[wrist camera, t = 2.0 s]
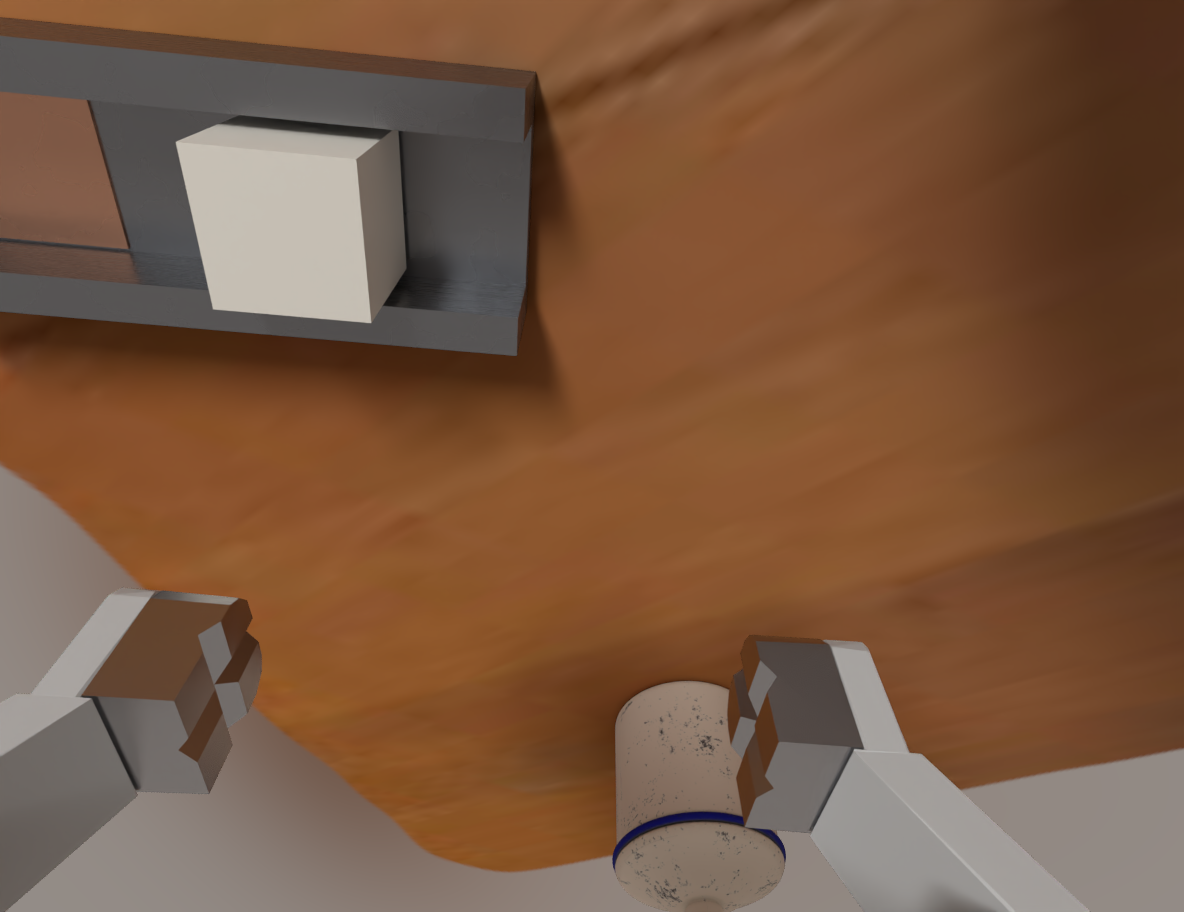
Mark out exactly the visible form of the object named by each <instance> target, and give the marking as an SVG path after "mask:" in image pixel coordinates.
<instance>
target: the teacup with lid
mask: <svg viewBox="0 0 1184 912" xmlns="http://www.w3.org/2000/svg"><path fill="white" fill-rule="evenodd" d="M728 696H729V690H728V689H726V688H724V687H721V686H718V685H715V684H711V683H706V682H699V681H677V682H670V683H664V684H660V685H657V686H654V687H651V688H649V689H646V690H644V691H642V692H640V693H639V694H637V695H636V696H634V697H633V698H631V699H630V700H629V701H628V702H627V703H626V704H625V705H624V706H623V708H622V709H621V711H620V713H619V714H618V717H617V720H616V724H615V755H616V823H617V846H616V847H615V850H614V853H613V868H614V870H615V873H616V876H617V879H618V881H619V882H620V884H621V886H622V887H623V888H624V890H625V891H626V892H627V893H628V894H629V895H631V896H632V897H633V898H635V899H636V900H638V901H640V902H642V903H644V904H646V905H648V906H651V907H654V908H657V909H661V910H665V911H669V912H731V911H733V910H735V909H737V908H740V907H743V906H746V905H749V904H751V903H754V902H756V901H758V900H759V899H761V898H763V897H764V896H766V895H767V894H768V893H770V892H771V891H772V890H773V889H774V888H775V887H776V886H777V884H778V883H779V881H780V879H781V877H782V875H783V872H784V867H785V860H786V854H785V848H784V845H783V843H782V841H781V840H780V838H779V837H778V836H777V831H776V830H769V829H758V828H747V827H744V821H743V815H742V809H741V804H740V798H739V792H738V786H737V781H736V776H737V773H738V770H739V768H740V765H741V762H742V758H741V757H740V756H739V755H738V754H737V753H736V751H735V750H734V749H733V748H732V747H731V744H730V737H729V731H728V717H727V708H728Z"/></svg>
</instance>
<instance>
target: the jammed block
mask: <svg viewBox="0 0 1184 912" xmlns="http://www.w3.org/2000/svg"><path fill="white" fill-rule="evenodd" d="M176 146H177V150H178V155H179V159H180V164H181V168H182V173H183V177H184V182H185V186H186V190H187V195H188V199H189V204H190V208H191V213H192V217H193V222H194V226H195V231H196V235H197V240H198V244H199V249H200V253H201V257H202V262H203V266H204V271H205V275H206V280H207V284H208V289H209V293H210V298H211V302H212V307H213V309H215V310H226V311H238V312H249V313H261V314H272V315H283V316H295V317H306V318H318V319H329V320H341V321H352V322H364V323H372V321H373V320H374V318H375V317H376V315H377V314H378V312H379V310H380V309H381V307H382V306H383V304H384V303H385V301H386V300H387V298H388V296H389V295H390V293H391V292H392V290H393V289H394V287H395V286H396V284H397V283H398V281H399V279H400V278H401V276H402V275H403V273H404V272H405V270H406V269H407V268H406V251H405V234H404V217H403V201H402V184H401V167H400V150H399V133H398V130H388V129H378V128H367V127H357V126H347V125H337V124H326V123H316V122H306V121H296V120H285V119H275V118H265V117H255V116H245V115H239V116H236V117H234V118H231V119H229V120H227V121H224V122H222V123H219V124H217V125H215V126H212V127H210V128H208V129H205V130H203V131H200V132H198V133H196V134H193V135H191V136H188V137H186V138H184V139H181V140H179V141H176Z"/></svg>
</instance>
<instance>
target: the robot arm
mask: <svg viewBox="0 0 1184 912" xmlns="http://www.w3.org/2000/svg"><path fill="white" fill-rule="evenodd" d="M251 620H252V615H251V611H250V608H249V605H248V602H247V600H244V599H240V598H232V597H222V596H212V595H202V594H192V593H182V592H172V591H157V590H146V589H134V588H123V587H122V588H120V589H118V590H116V591H115V592H113V593H111V594H110V595H109V596H107V597H106V599H105V600H104V601H103V603H102V604H101V605H100V607H99V608H98V609H97V610H96V612H95V613H94V614H93V615H92V617H91V618H90V619H89V620H88V622H87V623H86V624H85V625H84V627H83V628H82V629H81V630H80V632H79V633H78V634H77V635H76V637H75V638H74V639H73V641H72V642H71V643H70V644H69V646H68V647H67V648H66V649H65V651H64V652H63V653H62V655H61V656H60V657H59V658H58V660H57V661H56V662H55V663H54V665H53V666H52V667H51V668H50V670H49V671H48V672H47V674H46V675H45V676H44V677H43V679H42V680H41V681H40V683H39V684H38V685H37V686H36V687H35V689H34V690H33V691H32V692H31V694H25V693H24V694H23V693H17V694H15V695H13V696H12V697H10V698H8V699H6V700H5V701H3V702H1V703H0V912H5V911H6V910H7V909H9V908H10V907H11V906H12V905H13V904H14V903H16V902H17V901H18V900H19V899H20V898H21V897H22V896H23V895H25V894H26V893H27V892H28V891H29V890H30V889H32V888H33V887H34V886H35V885H36V884H37V883H38V882H39V881H41V880H42V879H43V878H44V877H45V876H46V875H48V874H49V873H50V872H51V871H52V870H53V869H54V868H56V867H57V866H58V865H59V864H60V863H61V862H62V861H64V860H65V859H66V858H67V857H68V856H69V855H71V854H72V853H73V852H74V851H75V850H76V849H77V848H78V847H80V846H81V845H82V844H83V843H84V842H85V841H87V840H88V839H89V838H90V837H91V836H92V835H93V834H94V833H95V832H96V831H98V830H99V829H100V828H101V827H102V826H104V825H105V824H106V823H107V822H108V821H109V820H111V818H112V817H114V816H115V815H116V814H117V813H119V812H120V811H121V810H122V809H123V808H124V807H125V806H127V805H128V804H129V803H130V802H131V801H132V800H133V799H135V798H136V797H137V792H164V793H165V792H166V793H192V794H193V793H194V794H209V793H210V791H211V789H212V787H213V785H214V783H215V780H216V778H217V777H218V774H219V772H220V770H221V768H222V766H223V764H224V762H225V760H226V758H227V756H228V754H229V752H230V749H231V747H232V741H231V738H230V735H229V731H228V728H229V727H230V726H232V725H233V724H234V723H236V722H237V721H238V720H240V719H241V718H242V717H244V716H245V715H246V714H247V713H248V711H249V709H250V707H251V705H252V702H253V700H254V698H255V696H256V693H257V689H258V685H259V680H260V676H261V672H262V655H261V650H260V646H259V642H258V641H257V640H256V639H255V638H254V637H252V636H251V635H250V634H249V633H248V632H247V631H246V630H247V628H248V626H249V624H250V622H251ZM740 654H741V660H742V665H743V669H742V670H741V671H739V672H738V673H736V674H735V675H733V679H732V682H731V686H730V690H729V696H728V708H727V717H728V731H729V737H730V744H731V747H732V748H733V749H734V750H735V751H736V753H737V754H738V755H739V756H740V757H741V758H742V762H741V765H740V768H739V770H738V773H737V776H736V781H737V786H738V792H739V798H740V804H741V809H742V815H743V821H744V827H747V828H758V829H769V830H781V831H792V832H804V833H811V835H810V838H811V839H812V841H813V842H814V843H815V845H816V846H817V847H818V849H819V850H820V852H821V853H822V854H823V856H824V857H825V858H826V860H827V861H828V863H829V864H830V865H831V867H832V868H833V870H834V871H835V872H836V874H837V875H838V877H839V878H840V879H841V881H842V882H843V883H844V885H845V886H846V888H847V889H848V890H849V892H850V893H851V894H852V896H853V897H854V899H855V900H856V901H857V903H858V904H859V906H860V907H861V908H862V910H863V911H864V912H1090V911H1089V910H1088V909H1087V908H1086V907H1085V906H1084V905H1083V904H1082V903H1081V902H1080V901H1079V900H1077V899H1076V898H1075V897H1074V896H1073V895H1072V894H1071V893H1070V892H1069V891H1068V890H1067V889H1066V888H1065V887H1064V886H1063V885H1061V884H1060V883H1059V882H1058V881H1057V880H1056V879H1055V878H1054V877H1053V876H1052V875H1051V874H1050V873H1049V872H1047V871H1046V870H1045V869H1044V868H1043V867H1042V866H1041V865H1040V864H1039V863H1038V862H1037V861H1036V860H1035V859H1034V858H1033V857H1031V856H1030V855H1029V854H1028V853H1027V852H1026V851H1025V850H1024V849H1023V848H1022V847H1021V846H1019V844H1017V843H1016V842H1015V841H1014V840H1013V839H1012V838H1011V837H1010V836H1009V835H1008V834H1007V833H1006V832H1005V831H1004V830H1002V829H1001V828H1000V827H999V826H998V825H997V824H996V823H995V822H994V821H993V820H992V819H991V818H989V816H987V815H986V814H985V813H984V812H983V811H982V810H981V809H980V808H979V807H978V806H977V805H976V804H975V803H973V802H972V801H971V800H970V799H969V798H968V797H967V796H966V795H965V794H964V793H963V792H962V791H961V790H960V789H959V788H957V787H956V786H955V785H954V784H953V783H952V782H951V781H950V780H949V779H948V778H947V777H946V776H945V775H944V774H942V773H941V772H940V771H939V770H938V769H937V768H936V767H935V766H934V765H933V764H932V763H931V762H930V761H928V760H927V759H926V758H925V757H924V756H923V755H922V754H917V753H910V752H909V750H908V747H907V745H906V742H905V740H904V737H903V735H902V732H901V730H900V727H899V725H898V722H897V720H896V717H895V715H894V712H893V710H892V707H891V705H890V702H889V700H888V697H887V694H886V692H885V689H884V687H883V684H882V682H881V679H880V677H879V674H878V672H877V669H876V667H875V664H874V662H873V659H872V657H871V654H870V652H869V649H868V648H867V647H866V646H865V645H864V644H863V643H862V642H851V641H836V640H821V639H812V638H796V637H779V636H763V635H749V636H748V637H747V638H746V640H745V641H744V644H743V647H742V650H741V653H740Z"/></svg>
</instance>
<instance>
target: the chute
mask: <svg viewBox="0 0 1184 912" xmlns="http://www.w3.org/2000/svg"><path fill="white" fill-rule="evenodd" d="M535 84H536V72H533V71H523V70H514V69H504V68H494V67H484V66H474V65H464V64H455V63H445V62H435V61H425V60H415V59H405V58H396V57H386V56H376V55H366V54H356V53H346V52H337V51H327V50H317V49H307V48H297V47H287V46H278V45H268V44H258V43H248V42H238V41H228V40H219V39H209V38H199V37H189V36H179V35H169V34H160V33H150V32H140V31H130V30H120V29H110V28H101V27H91V26H81V25H71V24H61V23H51V22H42V21H32V20H22V19H12V18H2V17H0V312H11V313H23V314H34V315H46V316H58V317H69V318H81V319H92V320H104V321H116V322H127V323H139V324H150V325H162V326H174V327H185V328H197V329H208V330H220V331H232V332H243V333H255V334H267V335H278V336H290V337H301V338H313V339H325V340H336V341H348V342H359V343H371V344H383V345H394V346H406V347H418V348H429V349H441V350H452V351H464V352H476V353H487V354H499V355H510V356H517V353H518V348H519V344H520V339H521V335H522V330H523V326H524V321H525V316H526V311H527V286H528V261H529V236H530V210H531V185H532V160H533V135H534V110H535ZM239 115H245V116H255V117H265V118H275V119H285V120H296V121H306V122H316V123H326V124H337V125H347V126H357V127H367V128H378V129H388V130H398V133H399V150H400V167H401V184H402V201H403V217H404V234H405V251H406V268H407V269H406V270H405V272H404V273H403V275H402V276H401V278H400V279H399V281H398V283H397V284H396V286H395V287H394V289H393V290H392V292H391V293H390V295H389V296H388V298H387V300H386V301H385V303H384V304H383V306H382V307H381V309H380V310H379V312H378V314H377V315H376V317H375V318H374V320H373V321H372V323H364V322H352V321H341V320H329V319H318V318H306V317H295V316H283V315H272V314H261V313H249V312H238V311H226V310H215V309H213V307H212V302H211V298H210V293H209V289H208V284H207V280H206V275H205V271H204V266H203V262H202V257H201V253H200V249H199V244H198V240H197V235H196V231H195V226H194V222H193V217H192V213H191V208H190V204H189V199H188V195H187V190H186V186H185V182H184V177H183V173H182V168H181V164H180V159H179V155H178V150H177V146H176V141H179V140H181V139H184V138H186V137H188V136H191V135H193V134H196V133H198V132H200V131H203V130H205V129H208V128H210V127H212V126H215V125H217V124H219V123H222V122H224V121H227V120H229V119H231V118H234V117H236V116H239Z"/></svg>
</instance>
